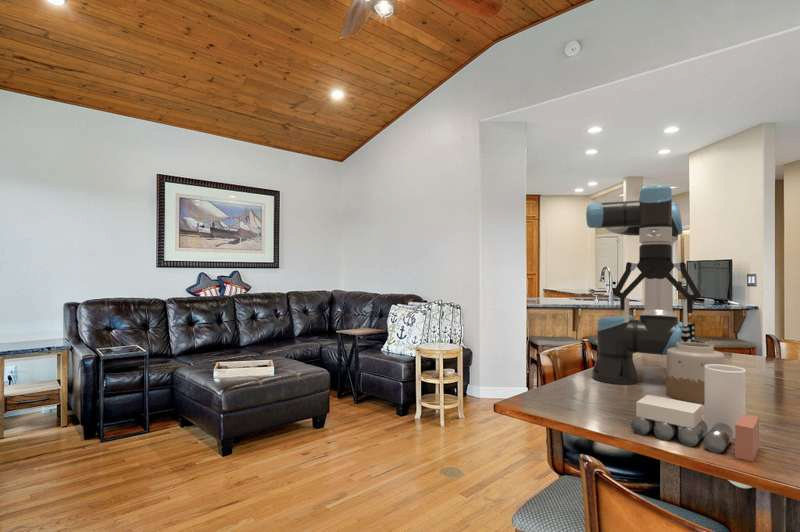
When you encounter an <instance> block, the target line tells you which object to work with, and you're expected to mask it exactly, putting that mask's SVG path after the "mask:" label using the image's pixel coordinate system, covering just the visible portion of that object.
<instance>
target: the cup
mask: <svg viewBox="0 0 800 532" xmlns="http://www.w3.org/2000/svg"><path fill="white" fill-rule="evenodd" d="M746 380H747V379H746V369H745V368H743V367H739V366H735V365H729V364H728V365H727V364H725V365H719V364H708V365H705V404H704V417H703V419H704V420H703V421H704V422H705V423H706V424H707V427H708V430H707V432H706V433H708V432H709V431H710V430H711V429H712V428H713V426H714V425H715V424H717V423H724V424H726V425H728V426H729V427H730V428H731V429H732V430H733V437H732V439H734V440H735V424H736V423H737V421H738V420H739V419H740V417H741V416H742V414H744V415H747V413H746V412H747V411H746V408H747V407H746V385H747V383H746V382H747V381H746Z"/></svg>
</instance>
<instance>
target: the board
mask: <svg viewBox="0 0 800 532" xmlns="http://www.w3.org/2000/svg"><path fill="white" fill-rule="evenodd" d="M635 403H636V409H635V411H636V413H635V414H636V417H642V418H647V419H651V420H656V421H661V422H665V423H670V424H674V425H679V426H683V427H688V428H693V429H694V428H695V427H696V426H697V424H698V423H699V422H700V421H701V420H703V404H697V403H690V402H685V401H681V400H677V399H674V398H668V397H661V396H657V395H651V394H646V395H645V396H643V397H641V398H640V399H639V400H637V401H636V402H635Z"/></svg>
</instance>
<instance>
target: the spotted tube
mask: <svg viewBox="0 0 800 532" xmlns="http://www.w3.org/2000/svg"><path fill="white" fill-rule="evenodd" d="M681 322H682V323H683V321H681ZM680 342H695V343H696V323H694V322H689V321H687V326H683V327H682V335H681V341H680Z"/></svg>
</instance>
